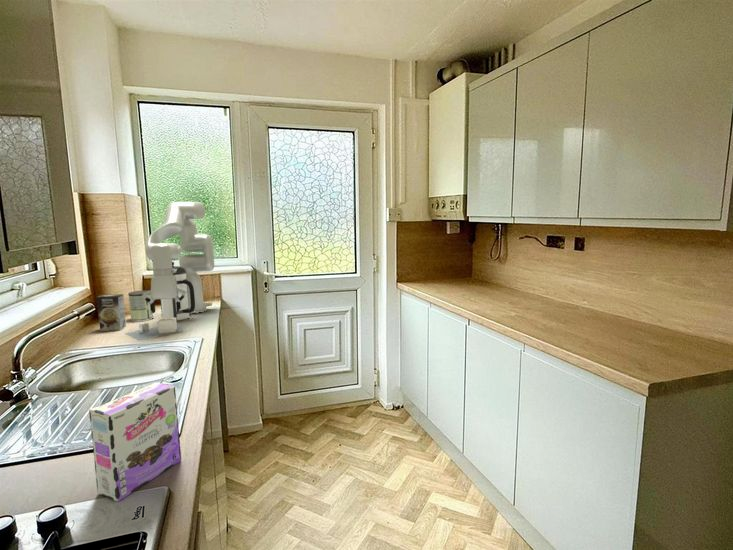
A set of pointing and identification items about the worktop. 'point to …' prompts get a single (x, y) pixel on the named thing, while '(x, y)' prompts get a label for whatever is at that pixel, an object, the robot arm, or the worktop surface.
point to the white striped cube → (167, 325)
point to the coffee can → (139, 306)
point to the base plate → (150, 333)
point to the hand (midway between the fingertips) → (166, 311)
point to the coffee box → (111, 312)
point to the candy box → (134, 439)
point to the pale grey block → (144, 328)
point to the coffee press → (170, 304)
